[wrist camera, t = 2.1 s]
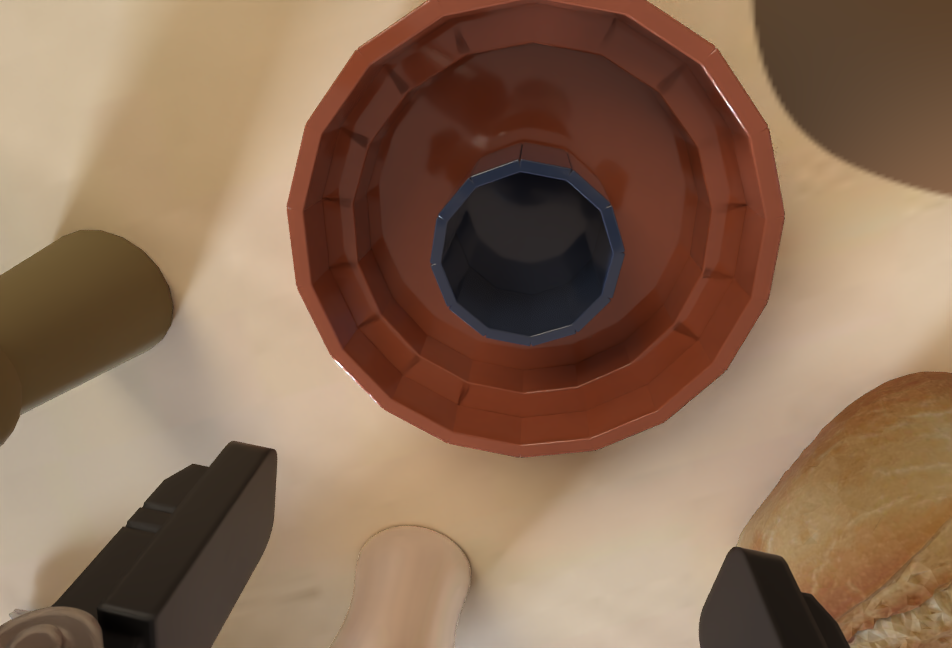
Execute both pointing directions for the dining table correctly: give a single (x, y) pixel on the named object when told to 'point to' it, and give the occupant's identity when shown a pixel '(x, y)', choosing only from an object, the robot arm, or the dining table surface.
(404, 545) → the beer glass
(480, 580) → the dining table surface
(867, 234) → the dining table surface
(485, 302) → the bowl
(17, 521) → the dining table surface
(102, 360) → the cork
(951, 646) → the bread roll
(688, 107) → the serving bowl
